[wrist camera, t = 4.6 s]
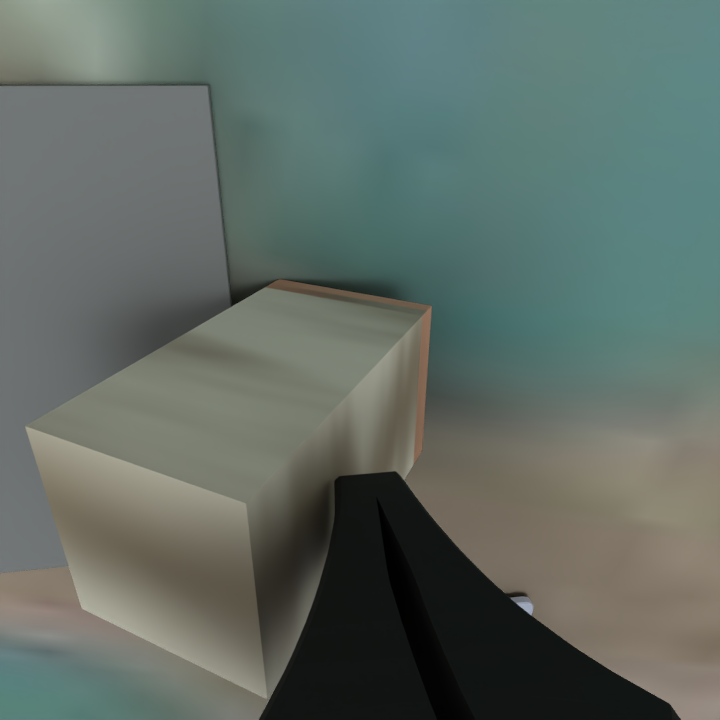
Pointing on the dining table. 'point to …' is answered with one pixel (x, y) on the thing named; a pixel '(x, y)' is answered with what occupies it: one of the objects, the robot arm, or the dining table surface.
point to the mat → (95, 260)
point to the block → (232, 469)
